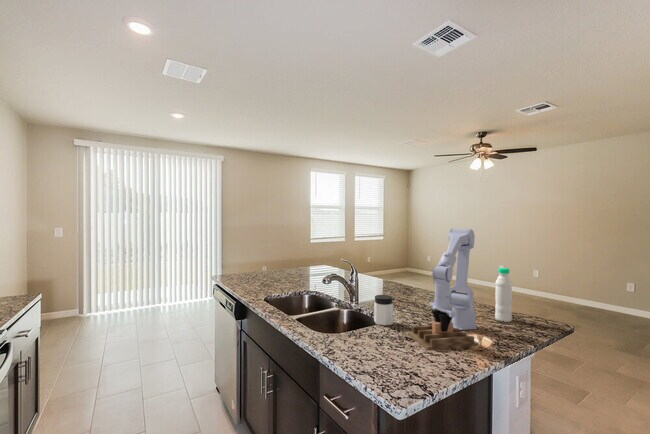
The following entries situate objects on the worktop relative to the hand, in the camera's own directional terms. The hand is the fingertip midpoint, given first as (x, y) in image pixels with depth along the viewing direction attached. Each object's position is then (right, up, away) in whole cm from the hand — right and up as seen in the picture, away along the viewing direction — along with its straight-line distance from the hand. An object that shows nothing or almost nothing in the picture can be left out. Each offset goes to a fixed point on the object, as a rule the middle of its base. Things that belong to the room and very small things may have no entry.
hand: (441, 329), depth 126 cm
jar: (-20, -4, +20) cm, 29 cm away
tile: (0, -3, 0) cm, 3 cm away
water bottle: (+39, -5, +26) cm, 47 cm away
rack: (0, -4, 0) cm, 4 cm away
